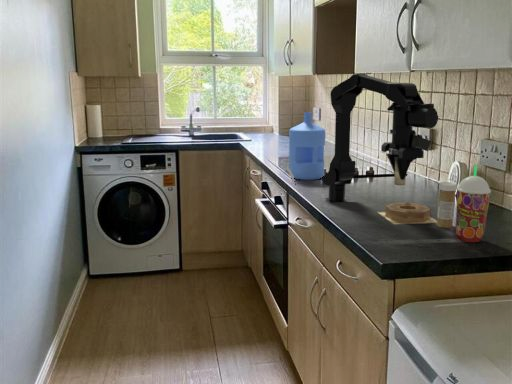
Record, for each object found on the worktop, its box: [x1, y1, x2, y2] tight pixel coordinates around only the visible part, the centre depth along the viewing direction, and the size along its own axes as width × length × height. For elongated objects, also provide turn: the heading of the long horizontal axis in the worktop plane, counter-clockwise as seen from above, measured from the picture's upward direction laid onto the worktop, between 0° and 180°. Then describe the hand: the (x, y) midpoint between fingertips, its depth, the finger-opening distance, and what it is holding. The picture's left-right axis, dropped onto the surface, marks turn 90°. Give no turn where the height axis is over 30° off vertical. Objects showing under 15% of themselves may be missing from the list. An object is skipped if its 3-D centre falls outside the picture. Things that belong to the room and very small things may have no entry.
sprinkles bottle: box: [436, 181, 458, 229], centre depth 145 cm, size 5×5×14 cm
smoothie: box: [455, 165, 492, 243], centre depth 135 cm, size 8×8×20 cm
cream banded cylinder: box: [393, 162, 407, 186], centre depth 154 cm, size 3×3×8 cm
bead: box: [384, 202, 431, 223], centre depth 155 cm, size 12×12×3 cm
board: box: [377, 211, 437, 225], centre depth 155 cm, size 14×14×1 cm
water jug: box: [288, 111, 326, 181], centre depth 222 cm, size 16×16×28 cm
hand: (400, 178), depth 154 cm, fingers closed on cream banded cylinder, 3 cm apart
